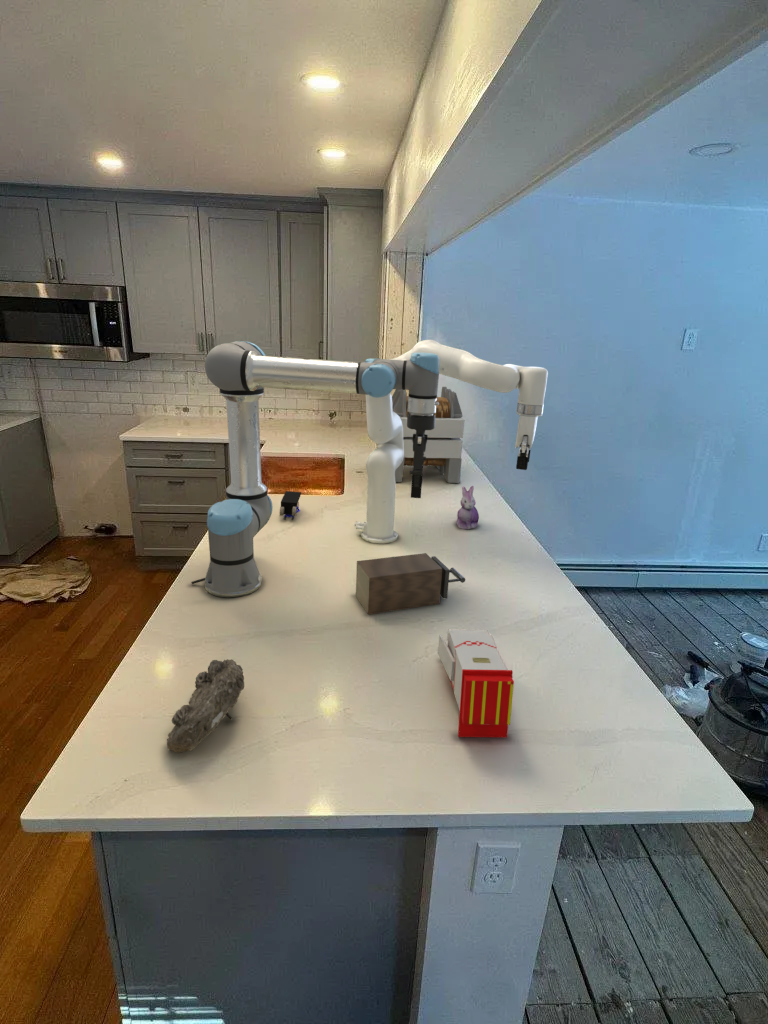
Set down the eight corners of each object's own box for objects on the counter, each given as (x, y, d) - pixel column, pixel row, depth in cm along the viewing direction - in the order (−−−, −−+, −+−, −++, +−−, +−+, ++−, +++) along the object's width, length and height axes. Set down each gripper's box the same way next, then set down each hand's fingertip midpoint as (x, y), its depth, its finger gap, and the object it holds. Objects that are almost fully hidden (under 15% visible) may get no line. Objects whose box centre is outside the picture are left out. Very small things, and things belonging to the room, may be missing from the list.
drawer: (451, 580, 165) (453, 553, 162) (466, 595, 157) (469, 567, 154) (369, 591, 156) (370, 563, 153) (381, 607, 148) (382, 578, 145)
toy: (488, 613, 130) (523, 677, 101) (484, 667, 133) (517, 744, 104) (435, 612, 130) (455, 676, 101) (432, 666, 133) (451, 743, 103)
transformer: (382, 463, 289) (386, 382, 275) (445, 464, 293) (451, 384, 279) (390, 482, 257) (394, 392, 243) (460, 483, 261) (468, 394, 247)
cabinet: (423, 586, 163) (426, 553, 159) (439, 603, 154) (442, 568, 150) (355, 595, 156) (356, 560, 152) (367, 614, 147) (369, 577, 143)
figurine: (464, 531, 204) (468, 492, 199) (448, 522, 212) (452, 484, 207) (485, 528, 208) (490, 489, 203) (469, 519, 217) (473, 481, 212)
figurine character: (297, 525, 206) (302, 507, 220) (296, 507, 203) (301, 489, 216) (278, 525, 206) (284, 507, 220) (278, 506, 203) (284, 489, 216)
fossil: (192, 660, 117) (244, 628, 112) (224, 691, 120) (276, 661, 115) (142, 746, 98) (202, 712, 93) (182, 779, 101) (242, 748, 96)
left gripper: (435, 423, 138) (429, 505, 145) (435, 406, 162) (430, 478, 169) (404, 421, 139) (400, 503, 146) (409, 405, 162) (405, 476, 169)
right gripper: (519, 404, 177) (512, 457, 183) (514, 413, 162) (507, 470, 167) (543, 406, 175) (536, 460, 181) (541, 415, 160) (533, 474, 165)
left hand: (416, 490), depth 157 cm, fingers open, 13 cm apart
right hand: (522, 465), depth 174 cm, fingers open, 9 cm apart
